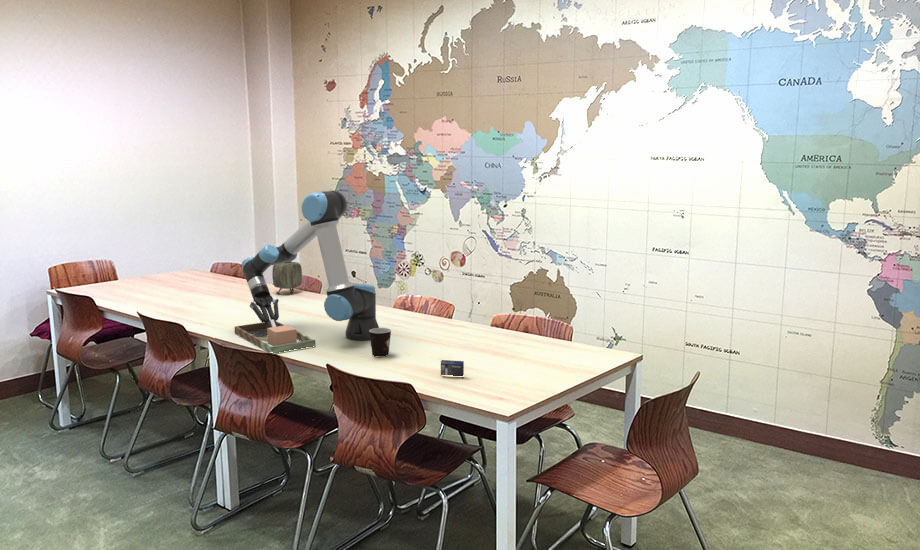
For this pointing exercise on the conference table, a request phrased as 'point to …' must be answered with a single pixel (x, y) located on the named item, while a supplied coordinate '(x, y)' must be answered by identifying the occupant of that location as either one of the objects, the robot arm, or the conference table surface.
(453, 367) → the mini dv tape
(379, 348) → the coffee mug
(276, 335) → the terracotta block
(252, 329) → the wooden tray
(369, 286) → the robot arm
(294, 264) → the tabletop clock
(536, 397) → the conference table surface
